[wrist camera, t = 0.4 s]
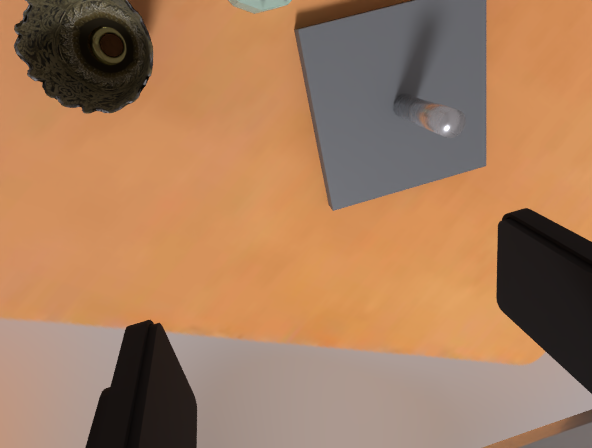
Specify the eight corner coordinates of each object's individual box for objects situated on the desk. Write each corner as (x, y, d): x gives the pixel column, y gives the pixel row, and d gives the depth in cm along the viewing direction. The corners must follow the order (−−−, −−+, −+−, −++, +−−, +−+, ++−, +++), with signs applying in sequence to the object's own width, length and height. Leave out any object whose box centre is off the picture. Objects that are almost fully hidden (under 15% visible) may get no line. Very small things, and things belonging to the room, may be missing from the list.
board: (294, 29, 33) (298, 29, 32) (475, -16, 35) (486, -18, 33) (328, 204, 40) (333, 210, 39) (477, 161, 42) (486, 165, 41)
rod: (391, 97, 36) (439, 113, 29) (413, 91, 36) (465, 106, 29) (394, 120, 37) (440, 141, 29) (414, 114, 37) (465, 133, 30)
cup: (86, -36, 29) (49, -58, 22) (181, 33, 32) (175, 34, 25) (39, 56, 30) (-10, 64, 23) (133, 114, 33) (115, 137, 26)
